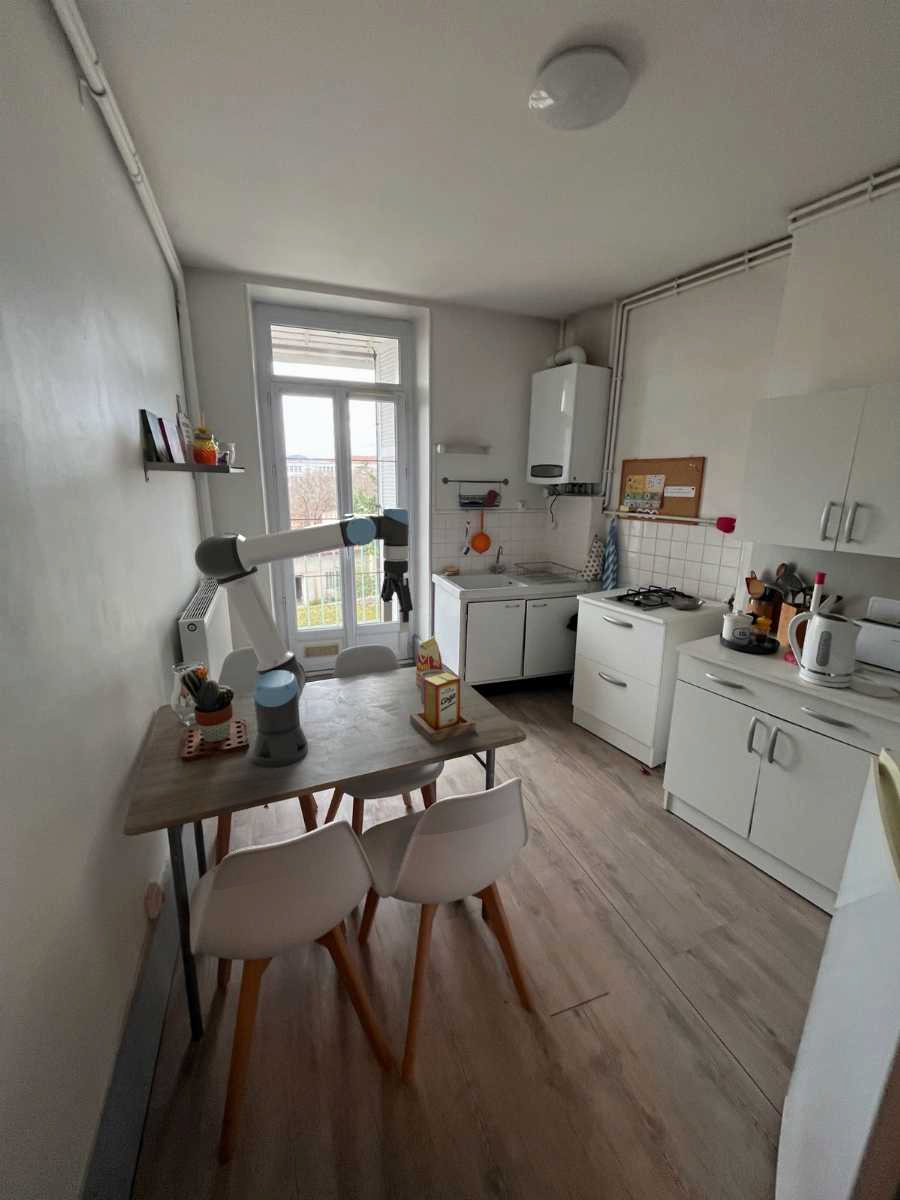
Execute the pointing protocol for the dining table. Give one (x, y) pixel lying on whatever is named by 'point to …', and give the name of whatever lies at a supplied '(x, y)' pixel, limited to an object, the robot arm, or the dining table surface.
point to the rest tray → (433, 736)
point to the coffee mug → (426, 675)
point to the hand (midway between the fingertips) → (395, 626)
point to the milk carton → (428, 658)
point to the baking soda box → (442, 701)
